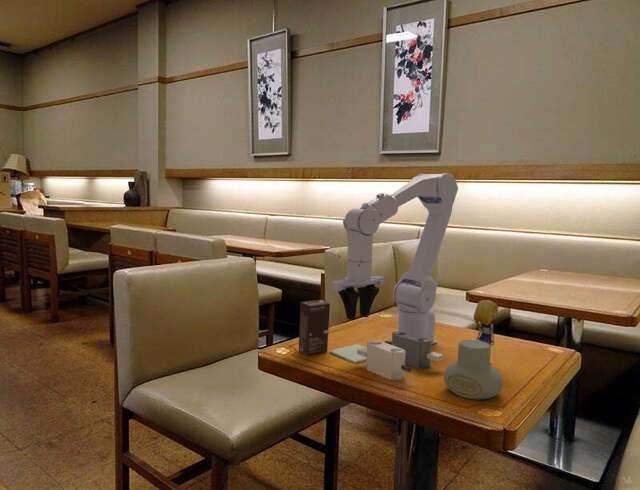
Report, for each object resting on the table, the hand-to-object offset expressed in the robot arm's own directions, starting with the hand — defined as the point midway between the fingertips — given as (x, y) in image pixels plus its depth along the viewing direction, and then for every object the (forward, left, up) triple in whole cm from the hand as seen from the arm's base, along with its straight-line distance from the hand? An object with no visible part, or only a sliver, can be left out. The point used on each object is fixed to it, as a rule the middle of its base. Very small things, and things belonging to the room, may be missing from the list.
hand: (357, 317), depth 113 cm
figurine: (-19, +22, -9) cm, 30 cm away
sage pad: (0, 0, -9) cm, 9 cm away
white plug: (+3, +13, -9) cm, 16 cm away
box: (+7, -7, -9) cm, 14 cm away
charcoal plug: (-7, +11, -9) cm, 16 cm away
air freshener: (-3, +30, -9) cm, 31 cm away
